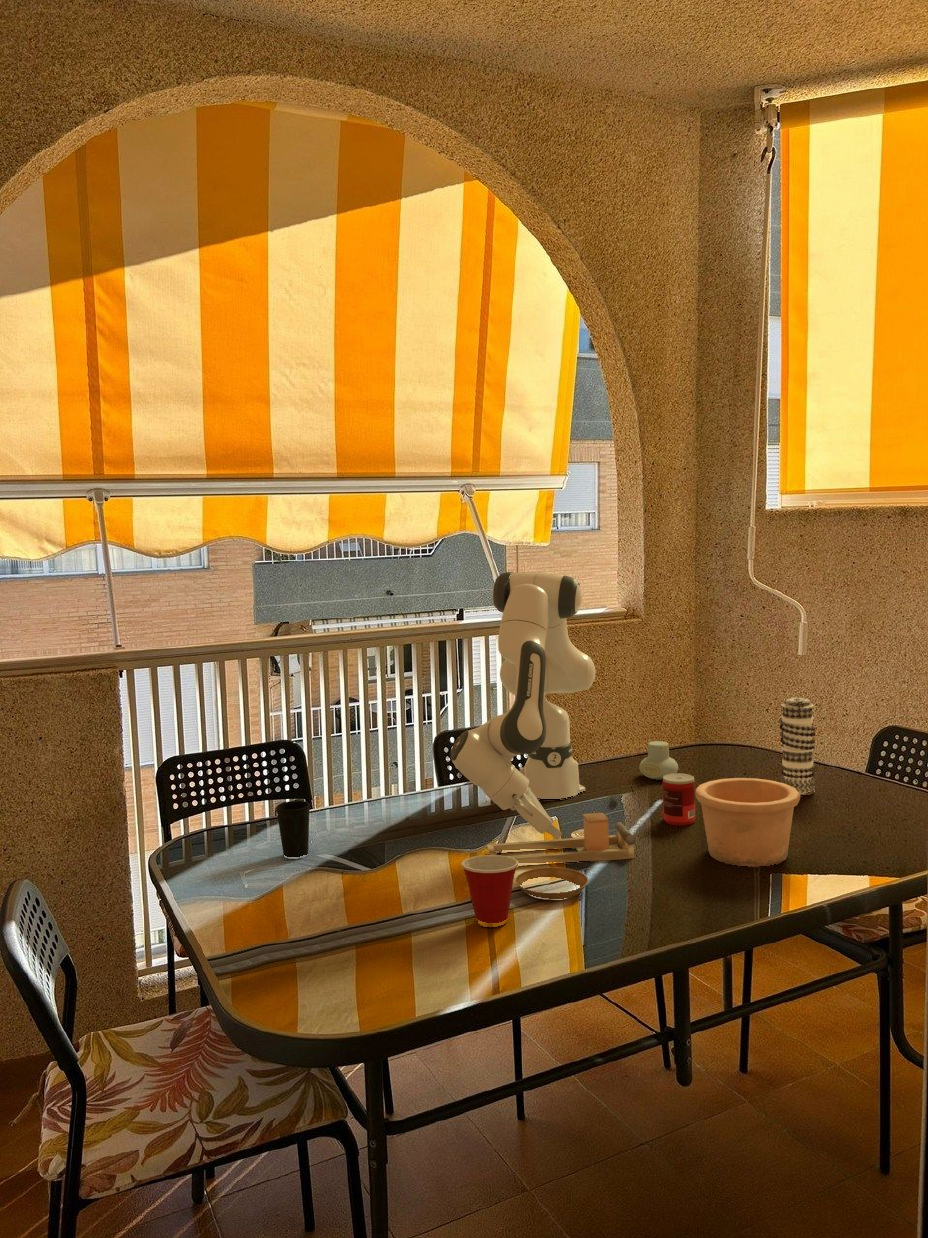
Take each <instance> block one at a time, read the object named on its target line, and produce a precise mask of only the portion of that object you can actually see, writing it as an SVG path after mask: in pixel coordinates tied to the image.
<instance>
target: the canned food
mask: <svg viewBox="0 0 928 1238" xmlns="http://www.w3.org/2000/svg"><path fill="white" fill-rule="evenodd" d="M695 783H696V782H695V776H694V775H691V774H688V773H683V772H682V773H681V772H680V773H679V772H677V773H674V774H668V775H665V776H663V780H662V808H663V809H662V811H663V820H664V822H665V823H666V824H669V825H671V826H680V827H681V826H682V827H683V826H689V825H692V824H693V823H694V822H695V820H696V796H695V790H696V787H695V786H696V785H695Z"/></svg>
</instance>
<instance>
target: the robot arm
mask: <svg viewBox="0 0 928 1238" xmlns="http://www.w3.org/2000/svg"><path fill="white" fill-rule="evenodd" d="M491 591H492V592H491V597H492V601H493V602H492V603H493V607H495V609H496V610H498V612H500V613H502V615H501V616H502V617H501V620H500V624H499V625H500V626H499V631H498V639H497V644H498V647H497V648H498V651H499V654H500V655H501V657H502V659H504V660H503V662H502V664H501V666H500V670H499V677H500V682H501V685H502V686H503V687H504V689H505V690H506V691H507V692H509V693H510V694H512V695H513V696H514V700H513V703H512V705H511V707H510V708H509V710H508V711H506V712H505V713H503V714H499V715H497V716H494V717H492V718H490V719H489V720H487V721H486V722H485V723H483V724H481V725H479V726H477V727H476V728H472V729H470V730H464V731H463V732H462V733H461V734H460V735H459V736H458V737H457V738H456V739H455V742H454V743H453V745H452V747H451V750H450V759H451V762H452V764H454V766H455V768H456V769H458V771H459V772H460V773H461V774H462V775H463V776H464V777H465V778H466V779H467V780H468V781H469V782H470V783H472V784H473V785H475V786H477V787H479V788H480V789H482V791H483V793H484V794H485V796H487V798H488V799H490V800H491V801H492V802H493V803H494V804H496V805H497V806H498V808H500V809H501V810H503V811H506V810H508V809H510V810H511V811H516V812H517V813H518V814H519V815H520V817H522V818H523V819H524V820H525V821H526V822H527V823H528V824H529V825H530V826H531V827H533V829H535V830H536V831H537V832H538V833H540V834H545V833H548V834H549V835H550V836H552V837H553V838H554V840H555V839H561V837H562V835H563V833H562V831H560V829H559V828H557V826H556V827H555V825H554V824H553V823H554V820H553V818H552V817H551V816H550V815H549V814H548V813H547V811H546V810H545V809H544V806H542V804H541V802H540V801H539V799H537V798H541V799H560V800H562V799H561V798H566V799H568V798H567V797H571V796H573V797H576V796H577V795H578V793H579V794H581V793H580V792H582V793H584V792H583V791H585V792H586V787H585V786H584V785H582V784H580V775H579V763H578V762H577V761H576V760H575V759H574V758H573V745H572V741H571V733H570V732H571V730H570V729H571V725H570V716H569V714H568V712H567V711H566V710H565V709H563V708H562V707H560V706H558V705H556V704H554V703H552V702H550V701H548V699H547V698H546V695H547V694H571V693H577V692H581V691H585V690H586V691H587V690H589V688H590V687H592V685H593V683H594V682H595V678H596V673H597V671H596V667H595V663H594V662H593V659H592V658H591V657H590V656H589V655H588V654H586V653H584V652H582V651H581V650H579V649H578V648H577V647H576V646H575V645H574V644H573V643H572V642H571V639H570V636H569V632H568V624H567V622H568V621H567V619H569V618H570V619H571V618H573V617H574V616H575V615H576V614H578V611H579V609H580V607H581V604H582V601H583V599H582V598H583V593H582V589H581V586H580V582H579V581H578V580H577V579H576V577H572V576H569V575H558V574H553V573H548V572H547V573H546V572H514V571H505V572H503V573H500V574H499V575H498V576H497V577H496V579H495V581H494V583H493V586H492V590H491ZM519 755H528V758H527V760H526V763H525V765H524V766H523V767H519V770H518V769H517V768H516V767H515V766H514V765H513V764H512V760H513V758H514V757H516V756H519ZM571 798H572V797H571Z"/></svg>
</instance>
